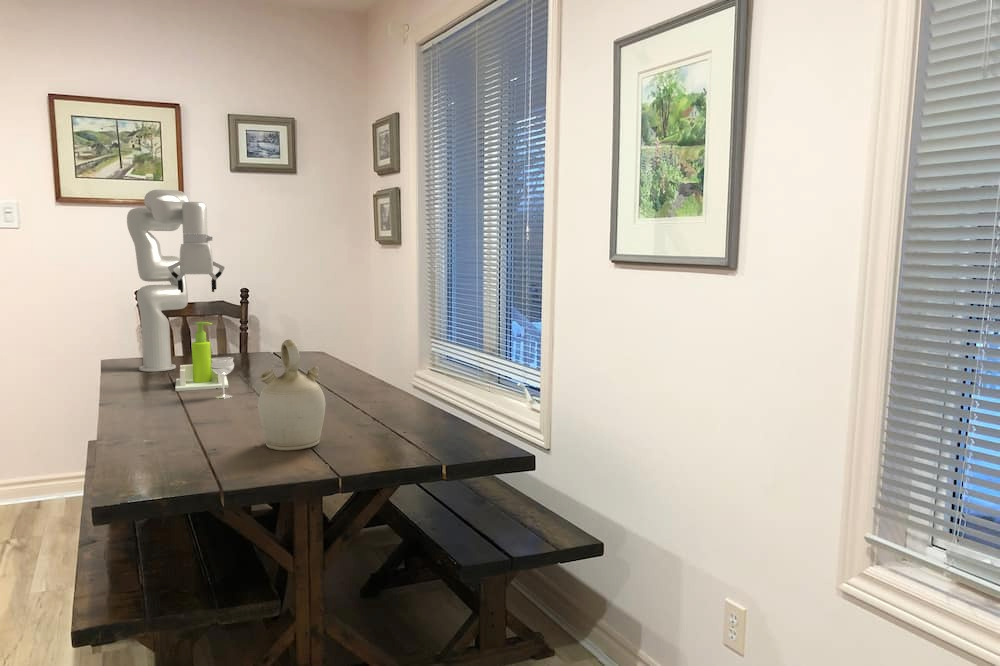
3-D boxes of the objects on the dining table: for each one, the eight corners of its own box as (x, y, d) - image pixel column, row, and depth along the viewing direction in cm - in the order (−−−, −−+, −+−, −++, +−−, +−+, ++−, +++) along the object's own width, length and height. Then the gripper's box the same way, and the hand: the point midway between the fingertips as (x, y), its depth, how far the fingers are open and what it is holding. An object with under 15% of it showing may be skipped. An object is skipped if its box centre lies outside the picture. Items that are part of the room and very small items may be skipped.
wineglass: (220, 400, 225) (218, 360, 224) (207, 397, 230) (206, 358, 228) (240, 396, 231) (238, 358, 229) (227, 393, 235) (225, 356, 233)
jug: (258, 455, 167) (254, 344, 164) (260, 438, 182) (256, 336, 179) (328, 450, 171) (325, 342, 168) (324, 434, 186) (322, 334, 183)
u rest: (176, 381, 255) (175, 364, 254) (226, 378, 261) (225, 361, 260) (175, 391, 239) (174, 372, 238) (228, 387, 245) (227, 369, 244)
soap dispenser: (210, 383, 247) (208, 323, 245) (190, 382, 248) (187, 323, 245) (218, 379, 253) (215, 321, 251) (198, 379, 254) (195, 321, 251)
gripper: (223, 240, 251) (224, 290, 253) (167, 239, 244) (169, 291, 247) (224, 240, 244) (225, 292, 246) (166, 239, 238) (168, 293, 240)
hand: (197, 292), depth 246 cm, fingers open, 9 cm apart
